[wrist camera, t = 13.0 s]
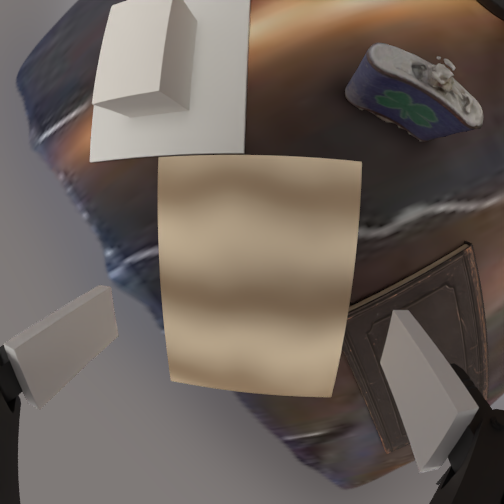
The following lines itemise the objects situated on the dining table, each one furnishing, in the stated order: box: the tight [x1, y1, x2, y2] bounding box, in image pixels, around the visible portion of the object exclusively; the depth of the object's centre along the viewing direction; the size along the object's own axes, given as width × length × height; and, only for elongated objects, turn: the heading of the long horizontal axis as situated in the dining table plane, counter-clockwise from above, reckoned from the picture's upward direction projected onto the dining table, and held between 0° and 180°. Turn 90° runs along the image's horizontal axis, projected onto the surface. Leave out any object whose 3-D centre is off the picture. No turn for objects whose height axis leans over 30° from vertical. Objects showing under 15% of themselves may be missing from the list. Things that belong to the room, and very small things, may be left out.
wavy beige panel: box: [158, 155, 362, 397], centre depth 19 cm, size 16×12×2 cm
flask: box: [345, 43, 483, 141], centre depth 16 cm, size 9×3×11 cm, turn 68°
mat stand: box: [90, 0, 251, 162], centre depth 20 cm, size 18×16×7 cm
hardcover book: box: [342, 241, 489, 453], centre depth 26 cm, size 16×23×2 cm
